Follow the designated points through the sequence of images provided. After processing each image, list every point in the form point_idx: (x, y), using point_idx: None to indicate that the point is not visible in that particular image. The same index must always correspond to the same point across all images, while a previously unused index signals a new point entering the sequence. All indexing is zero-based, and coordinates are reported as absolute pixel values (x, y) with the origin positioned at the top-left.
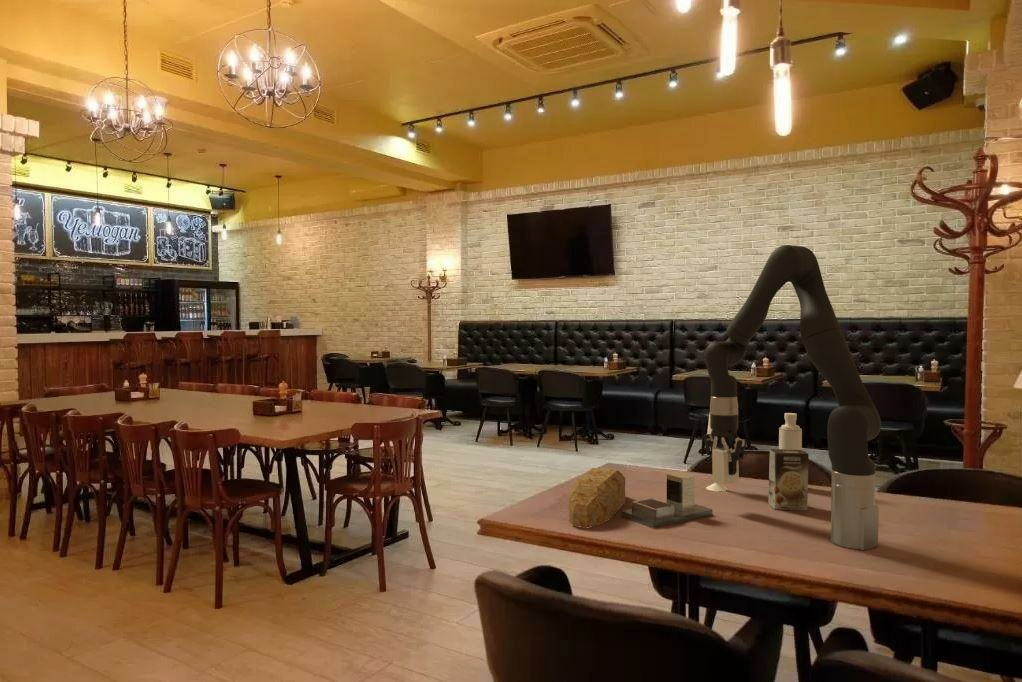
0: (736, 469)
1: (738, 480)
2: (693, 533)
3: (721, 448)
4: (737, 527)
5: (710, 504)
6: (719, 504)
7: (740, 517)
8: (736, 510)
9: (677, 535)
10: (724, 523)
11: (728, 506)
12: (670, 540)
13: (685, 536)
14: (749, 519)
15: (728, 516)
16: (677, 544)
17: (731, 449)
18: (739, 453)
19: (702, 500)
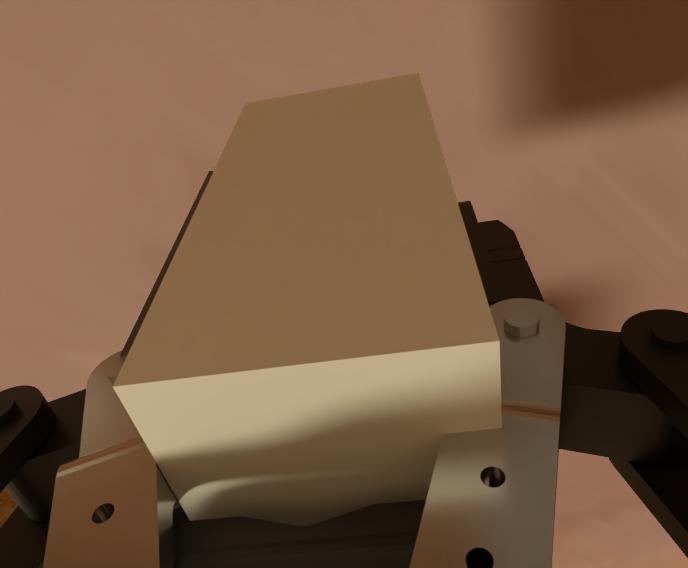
0: (517, 246)
1: (418, 79)
2: (592, 467)
3: (191, 514)
4: (671, 276)
5: (190, 117)
6: (207, 50)
7: (549, 133)
8: (402, 36)
9: (571, 513)
10: (576, 292)
11: (281, 18)
12: (597, 547)
13: (599, 500)
14: (618, 107)
15: (488, 190)
16: (643, 548)
17: (391, 443)
18: (682, 424)
19: (67, 103)
